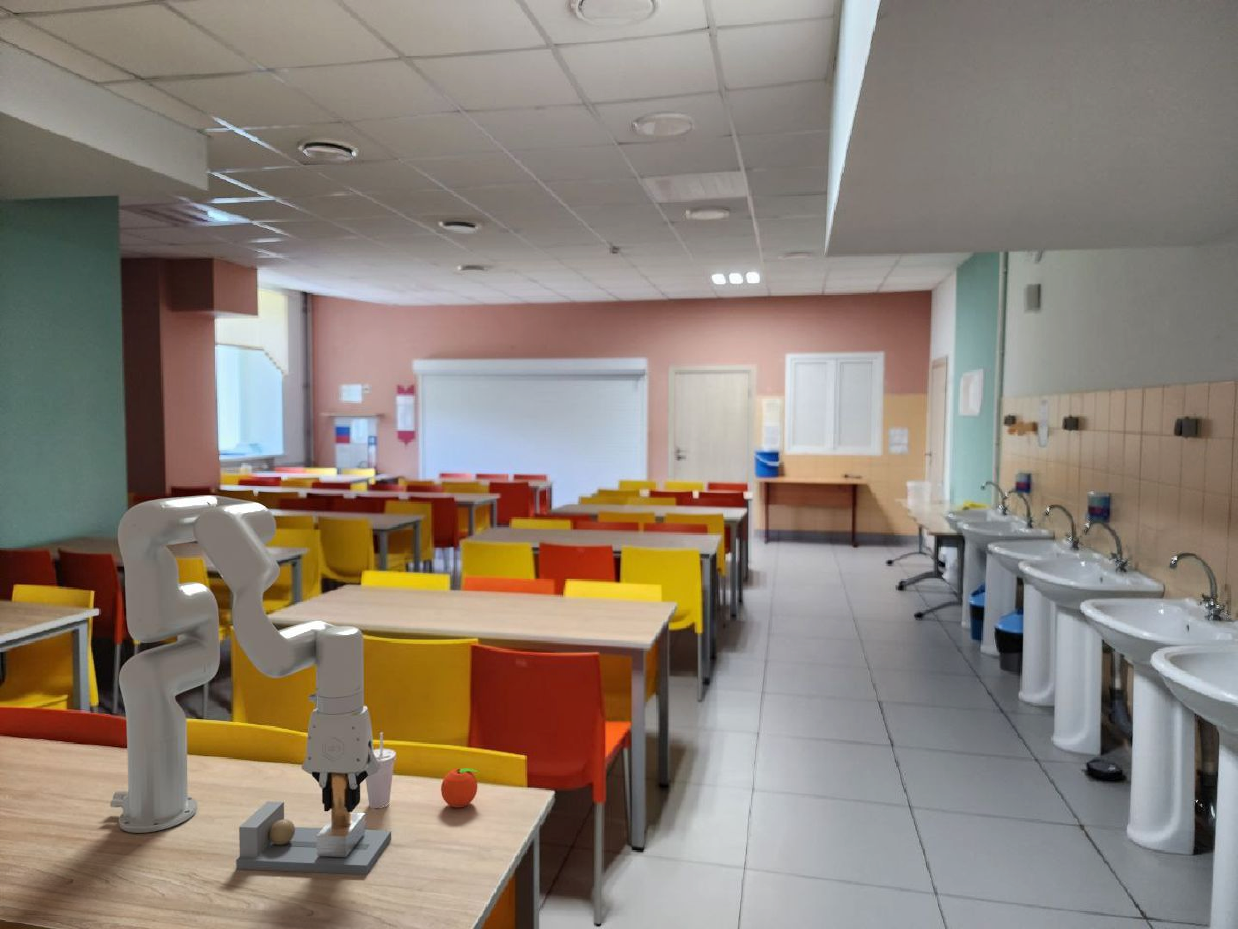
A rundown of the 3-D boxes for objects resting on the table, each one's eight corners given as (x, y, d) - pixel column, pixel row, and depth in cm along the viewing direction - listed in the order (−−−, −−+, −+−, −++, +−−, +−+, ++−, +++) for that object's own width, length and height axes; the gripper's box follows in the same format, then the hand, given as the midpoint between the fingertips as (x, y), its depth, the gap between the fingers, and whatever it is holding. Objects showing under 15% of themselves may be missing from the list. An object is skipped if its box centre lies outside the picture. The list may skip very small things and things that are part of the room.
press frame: (236, 868, 127) (235, 830, 127) (270, 834, 138) (270, 798, 138) (366, 874, 126) (366, 835, 126) (391, 839, 137) (390, 803, 137)
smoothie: (386, 814, 146) (385, 740, 145) (355, 810, 147) (354, 738, 147) (402, 798, 152) (401, 728, 152) (372, 795, 154) (371, 725, 153)
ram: (316, 855, 128) (315, 766, 127) (337, 831, 136) (336, 747, 135) (346, 857, 128) (345, 767, 127) (365, 832, 136) (364, 747, 135)
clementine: (477, 793, 155) (477, 758, 154) (487, 808, 148) (487, 772, 148) (437, 801, 151) (437, 765, 151) (445, 817, 145) (445, 780, 145)
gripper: (282, 708, 128) (283, 817, 128) (379, 710, 126) (380, 821, 127) (303, 692, 135) (304, 796, 136) (395, 695, 134) (396, 799, 135)
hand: (341, 807), depth 132 cm, fingers closed on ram, 3 cm apart
